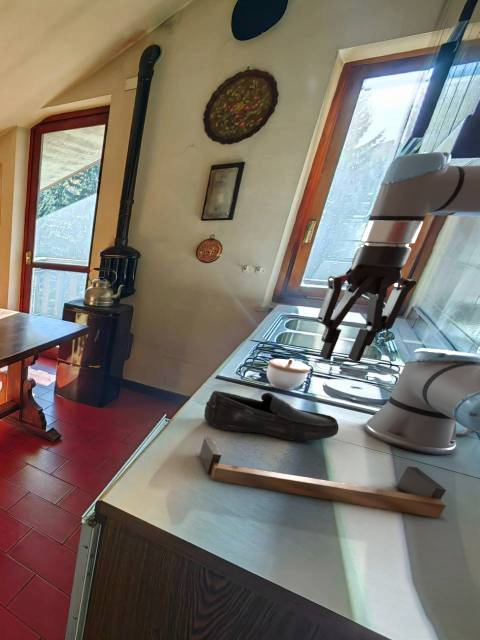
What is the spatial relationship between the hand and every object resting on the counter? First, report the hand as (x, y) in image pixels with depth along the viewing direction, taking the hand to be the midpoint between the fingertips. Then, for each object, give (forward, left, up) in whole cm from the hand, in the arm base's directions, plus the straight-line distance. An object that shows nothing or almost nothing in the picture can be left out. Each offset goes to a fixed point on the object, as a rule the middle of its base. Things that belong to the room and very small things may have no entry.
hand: (339, 357), depth 85 cm
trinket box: (-11, -43, -23) cm, 50 cm away
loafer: (+6, -6, -23) cm, 24 cm away
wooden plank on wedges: (+6, +17, -23) cm, 29 cm away
